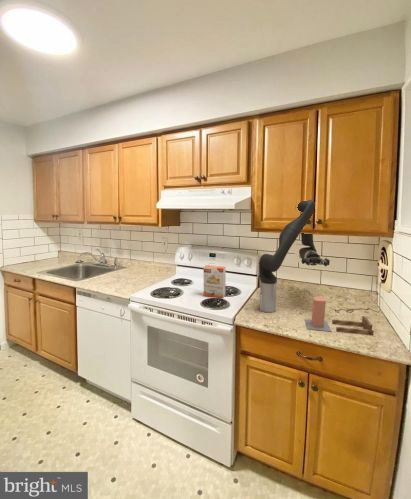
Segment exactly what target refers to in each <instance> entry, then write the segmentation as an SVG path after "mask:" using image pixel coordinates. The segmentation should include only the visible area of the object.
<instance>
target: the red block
mask: <svg viewBox="0 0 411 499" xmlns="http://www.w3.org/2000/svg"><path fill="white" fill-rule="evenodd" d="M325 314H326V299H325V298H324V297H320V296H312V309H311V320H312V321H311V322H312V325H313V327H323V328H324V321H325Z"/></svg>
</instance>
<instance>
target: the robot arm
mask: <svg viewBox="0 0 411 499" xmlns="http://www.w3.org/2000/svg"><path fill="white" fill-rule="evenodd" d="M312 200H313V199H310V200H308V201H302V202H300V203H299V204H298V207H297V208H298V210H299V211H301V212H303V213H302V214H301V215H300V216H299V217H297V218H295V219H294V220H292V221H290V222H288V223H287V224H286V225H285V226H284V228H283V229H282V230H281V232H280V234H279V235H278V236H279V237H278V248H277V250H276V251H275V253H274V254H269V253H264V254H262V255H261V256H260V259H259V262H258V274H259V276H258V277H259V279H260V281H259V282H260V284H259V285H260V286H259V288H260V289H259V312H260V311H261V312H263V313H274V312H276V310H277V309H276V307H277V306H276V305H277V288H278V287H277V284H278V278H277V277H276V275H274V273H275V272H277V271H278V270H279V269H280V268H281V266H282V264H283V262H284V260H285V258H286V256H287V254H288V253H289V250H290V249H291V248H292V245H293V244H294V243H295V242H296V240H297V238H298V237H299V235H300V240H301V244H302V245H303V246H305V247H301V248H300V249H299V251H298V252H299V253H298V254H299V257H300V258H301V260H300V262H301V264H303V265H304V264H305V265H307V266H308V267H309V266H317V265H321V266H322V265H323V266H324V267H327V266H329V265H330V259H328V258H326V257H325V258H321V257H320V255H319V254H318V253H317V249H316V247H315V243H314V233H313V234H304V233H301V230H302V229H303V227H304V226H305V225H306V223H307V222H309V221H310V219H311V218H312V217H313V216H312V214H313V211H314V208H315V202H314V201H312ZM313 215H314V214H313ZM311 216H312V217H311Z"/></svg>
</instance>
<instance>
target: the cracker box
mask: <svg viewBox="0 0 411 499" xmlns="http://www.w3.org/2000/svg"><path fill="white" fill-rule="evenodd" d="M226 270H227V268H226V266H223V265H210V264H206V265H204V266H203V296H204V297H210V298H215V297H219V298H218V299H222V298H223V299H224V298H225V297H226V285H227V284H226Z"/></svg>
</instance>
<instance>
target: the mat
mask: <svg viewBox="0 0 411 499" xmlns="http://www.w3.org/2000/svg"><path fill="white" fill-rule="evenodd" d="M311 321H312V319H309V318H305V319H304V322H305V326H306V329H307V331H319V332H329V333H331V332H333V331H332V329H331V328H330V325H329V323H328V321H327V320H324V328H323V327H313V325H312V322H311Z"/></svg>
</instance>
